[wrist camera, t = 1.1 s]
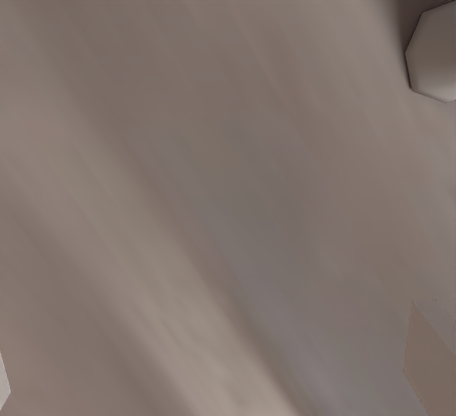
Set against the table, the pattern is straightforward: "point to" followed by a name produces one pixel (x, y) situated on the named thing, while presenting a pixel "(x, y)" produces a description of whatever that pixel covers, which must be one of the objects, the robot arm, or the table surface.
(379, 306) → the table surface
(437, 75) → the flask
